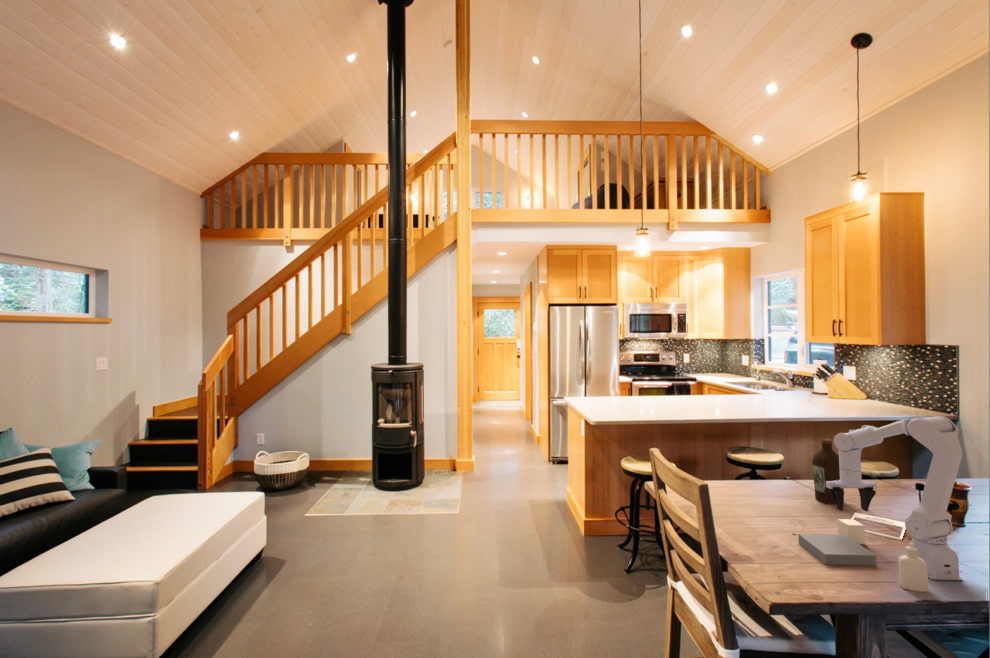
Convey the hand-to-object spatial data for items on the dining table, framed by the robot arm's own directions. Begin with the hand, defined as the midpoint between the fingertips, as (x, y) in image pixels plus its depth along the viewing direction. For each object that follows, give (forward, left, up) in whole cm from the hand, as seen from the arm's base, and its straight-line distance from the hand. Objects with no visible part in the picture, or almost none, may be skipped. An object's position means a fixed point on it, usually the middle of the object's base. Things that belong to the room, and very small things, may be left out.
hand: (852, 510), depth 150 cm
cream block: (-1, +2, -10) cm, 10 cm away
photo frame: (+11, -14, -10) cm, 21 cm away
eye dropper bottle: (-30, +5, -10) cm, 32 cm away
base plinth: (-11, +13, -9) cm, 19 cm away
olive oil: (+36, -13, -10) cm, 39 cm away
